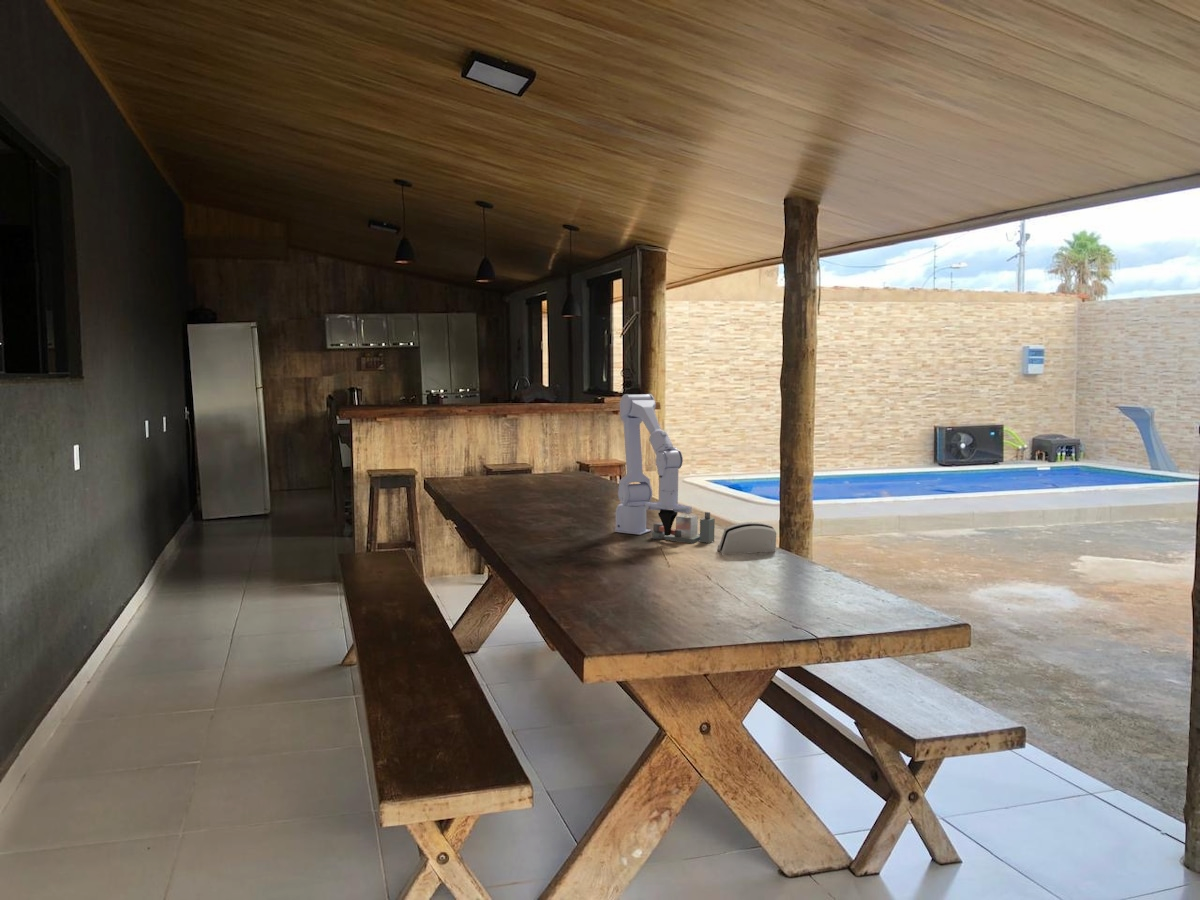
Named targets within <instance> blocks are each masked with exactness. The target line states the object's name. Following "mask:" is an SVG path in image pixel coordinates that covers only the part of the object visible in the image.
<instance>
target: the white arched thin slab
mask: <svg viewBox="0 0 1200 900" xmlns="http://www.w3.org/2000/svg"><path fill="white" fill-rule="evenodd" d="M776 546H777V531H776V529H775V528H774V527H773V526H772V525H770V524H767V523H764V522H757V521H756V522H755V521H754V522H753V521H750V522H749V521H747V522H740V523H736V524H732V525H729V526H727V527H725V528H724V529H723V533H722V536H721V539H720V543H719V545H717V548H716V552H720V554H722V555H738V554H739V553H742V554H754V553H756V554H758V553H757V552H760V553H775V552H776V551H777V550H776V549H775V548H776ZM739 555H740V554H739Z"/></svg>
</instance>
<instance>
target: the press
mask: <svg viewBox="0 0 1200 900" xmlns="http://www.w3.org/2000/svg"><path fill="white" fill-rule="evenodd" d="M715 519H716V518H714V517H713V518H712V517H711V512H710V511H705V512H704V517H702V518H701V519H699V533H697V535H696V536H694V537H691V538H689V537H675V536H674V535H671V534H670V535H668V536H665V533H664V532H655V531H652V530H651V538H652V539H653V540H666V541H669V540H671V542H677V541H678V543H679V542H680V543H687V544H696V543H697V541H698V542H699V543H701V542H706V543H705V544H711V543H713V542H715V524H716V523H715ZM699 540H700V541H699ZM712 541H713V542H712ZM710 542H711V543H710Z"/></svg>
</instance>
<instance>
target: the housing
mask: <svg viewBox="0 0 1200 900" xmlns="http://www.w3.org/2000/svg"><path fill="white" fill-rule="evenodd" d="M698 518H699V517H698V515H695V514H686V513H683V514H679V515H677V516H676V518H675V530H682V532H681V537H689V538H691V537H694V536H696V535H697V534H698V530H699V529H698V527H699V525H698V521H699V520H698Z"/></svg>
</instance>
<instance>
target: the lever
mask: <svg viewBox="0 0 1200 900" xmlns="http://www.w3.org/2000/svg"><path fill="white" fill-rule="evenodd" d="M652 528H653V531H655V532H664V527H663V524H662V522H655V523H653V527H652ZM681 532H682V530H676V528H672V527H671V534H670V535H674V536H675V537H681Z"/></svg>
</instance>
